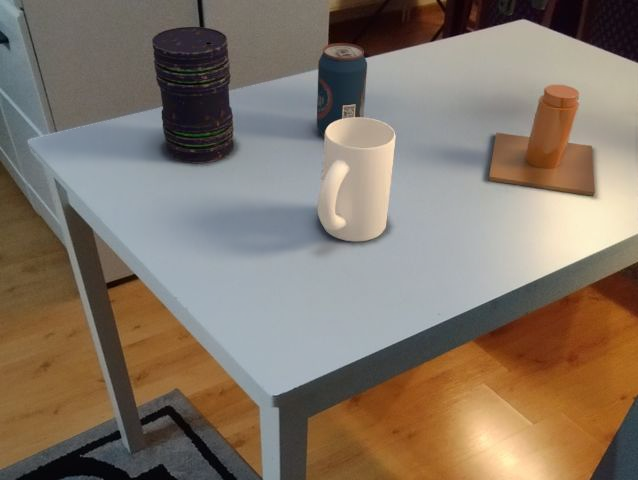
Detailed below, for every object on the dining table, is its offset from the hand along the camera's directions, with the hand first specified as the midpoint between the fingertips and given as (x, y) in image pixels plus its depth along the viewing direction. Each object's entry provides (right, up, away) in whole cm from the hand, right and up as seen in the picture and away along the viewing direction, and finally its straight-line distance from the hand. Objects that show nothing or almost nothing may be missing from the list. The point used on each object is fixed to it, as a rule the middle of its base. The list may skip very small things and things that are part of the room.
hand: (522, 10), depth 98 cm
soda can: (-26, -16, +5) cm, 31 cm away
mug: (-26, -35, -15) cm, 46 cm away
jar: (+3, -22, -1) cm, 22 cm away
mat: (+2, -22, -1) cm, 23 cm away
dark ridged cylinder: (-46, -20, 0) cm, 51 cm away
